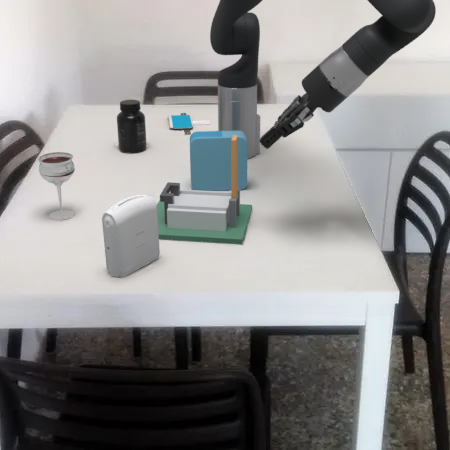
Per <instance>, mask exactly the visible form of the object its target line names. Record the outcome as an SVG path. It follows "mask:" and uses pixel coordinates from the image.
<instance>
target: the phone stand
mask: <svg viewBox="0 0 450 450" xmlns="http://www.w3.org/2000/svg"><path fill="white" fill-rule="evenodd" d="M167 121H168V129H175V131H183V132H184V135H191V134H192V133H191V129H192V128H193V126H202V125H203V126H204V125H211V121H210V120H209V119H204V120H203V119H202V120H192V118H191V115H190V114H187V113H186V112H181V113H180V114H178V115H177V114H176V115H171V116H169V115H168V116H167Z"/></svg>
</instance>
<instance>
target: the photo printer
mask: <svg viewBox="0 0 450 450" xmlns="http://www.w3.org/2000/svg"><path fill="white" fill-rule="evenodd" d="M101 223H102V225H101V226H102V231H103V233H102V235H103V243H104V254H105V255H104V256H105V263H106V264H105V265H106V266H105V267H106V270H107V271H108V273H109V275H110V276H112V277H115V278H120V277H125V276H127V275H129V274H131V273H133V272H135V271H137V270H139V269H140V268H143V267H144V266H146V265H148V264H150V263H152V262H154V261H155V260H157V259H159V258H160V253H161V252H160V251H161V250H160V239H159V232H158V216H157V203H156V201H155V199H154V198H153V197H152V196H149V195H147V194H137V195H133V196H132V195H131V196H129V197H125V198H124V199H121V200H119V201H118V202H116V203H114V204H113V205H112V206H111V207H109V208H108V209H107V210H106V211H105V212H104V213H103V215H102V217H101Z"/></svg>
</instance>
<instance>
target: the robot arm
mask: <svg viewBox="0 0 450 450" xmlns="http://www.w3.org/2000/svg"><path fill="white" fill-rule="evenodd" d="M262 1H263V0H219V2H218V5H217V8H216V9H215V11H214V12H215V13H214V16H213V19H212V22H211V26H210V32H209V37H210V38H209V40H210V41H209V42H210V46H211V48H212V50H213V52H215V53H216V54H217V55H220V56H239V55H241V57H240V58H239V59H238V60H237V61H236V62H234V63H233V64H231V65H228V66H226V67H224V68H222V69H221V70H220V71H219V72H218V74H217V103H218V104H217V117H218V118H217V121H218V122H217V125H218V129H217V131H242V132H243V133H244V134H245V136H246V139H247V159H250V158H253V157H255V156H256V155H260V154H261V146H262V147H263V148H264V149H267V150H268V149H270V148H271V147H272V146H274V145H275V143H276V142H278V141H279V140H280V139H281V138H282V137H283V138H287V137H289V136H290V135H292V134H293V133H295V132H297V131H298V130H300V129H302V128H303V127H304V126H305V123H306V122H309V121H310V120H311V119H312V118H313V117H314V116H315V113H314V112H315V111H316V110H317V109H318V108H319V109H321V110H322V111H324V112H325V113H331V112H333V111H334V110H335V109H336V108H337V107H338V106H339V105H340V104H342V103H343V102H344V101H345V100H346V99H347V98H348V97H350V96H351V95H352V94H353V93H355V92H356V91H357V90H358V89H359V88H360V87H361V86H362V85H363V84H364V82H365V81H366V80H367V79H368V78H369V77H370V76H371V75H372V74H373V73H375V72H376V71H377V70H378V69H380V67H382V66H383V65H384V63H386V61H387V60H389V58H391V57H392V56H393V55H395V54H397V53H398V52H399V51H401V50H402V49H404V48H405V47H407V46H408V45H410V44H411V43H412V42H414V41H415V40H416V39H417V38H419V37H420V36H421V35H423V34H424V33H425V31H427V30H428V29H429V28H430V26H431V25H432V23H433V22H434V21H435V16H436V10H437V9H436V4H435V2H434V0H367V1H368V3H369V4H370V5H371V6H373V8H375V10H376V11H377V12H378V13H380V14H381V16H380V17H379V18H378V19H377V20H375V21H374V22H373V23H371V24H366V25H364V26H363V27H361V28H359V29H358V30H357V31H356V32H355V33H354V34H353V35H351V36H350V37H349V38H348V39H347V40H346V41H345V42H344V43H343V44H342V45H340V46H339V47H338V48H337V49H335V50H333V51H332V52H331V53H330V54H328V55H327V56H326V58H324V59H323V60H322V61H321V62H320V63H318V65H317V66H315V67H314V68H313V69H312V70H311V71H310V72H309V73H308V74H307V75H306V76H305V77H304V78H302V80H301V86H302V88H303V90H304V91H305V93H304V94H303V95H302V96H301V95H300V94H298V95H297V96H296V97H295V98H294V99H293V101H292V102H291V103H290V104H289V106H287V107H286V108H285V109H284V110H283V111H282V113H281V114H280V115H279V116H278V117H277V120H276V121H275V122H274V123H273V124H274V125H273V126H272V127H270V129H268V130H267V131H266V132H265V133H264V134H262V136H261V116H260V114H258V74H259V73H258V72H259V53H260V40H261V31H260V30H261V29H260V28H261V27H260V21H259V17H258V16H257V14H255V12H251V11H252V10H253V9H254V8H256V7H257V6H258V5H259V4H260V3H262Z"/></svg>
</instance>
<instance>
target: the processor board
mask: <svg viewBox="0 0 450 450" xmlns="http://www.w3.org/2000/svg"><path fill="white" fill-rule="evenodd" d="M238 195H239V197H238V200H237V203H236V199H234V198H231V191H200V190H194V189H181V183H180V182H167V183H166V185H165V186H164V187H163V189H162V191H161V193H160V194H159V201H158V202H157V203H156V206H157V216H158V232H159V240H164V241H179V242H195V243H210V244H211V243H215V244H229V245H230V244H231V245H232V244H233V245H243V243H244V241H245V237H246V233H247V230H248V226H249V221H250V218H251V215H252V212H253V204H248V203H247V204H244V203H241V190H240V188H238Z"/></svg>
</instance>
